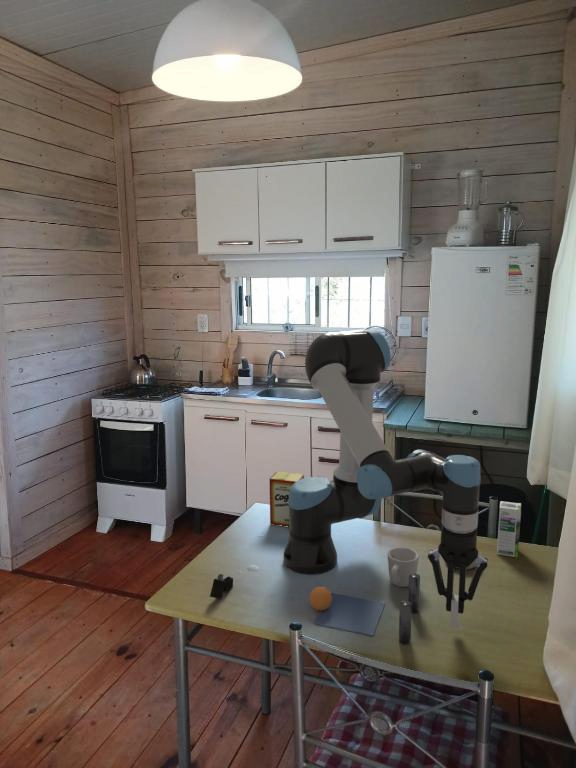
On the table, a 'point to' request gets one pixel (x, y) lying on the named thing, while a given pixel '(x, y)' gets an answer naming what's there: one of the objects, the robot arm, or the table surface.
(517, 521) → the syrup box
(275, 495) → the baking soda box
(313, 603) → the ball
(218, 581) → the black spring clamp
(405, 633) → the post
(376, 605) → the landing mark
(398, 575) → the cup
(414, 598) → the post
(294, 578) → the table surface
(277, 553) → the table surface
